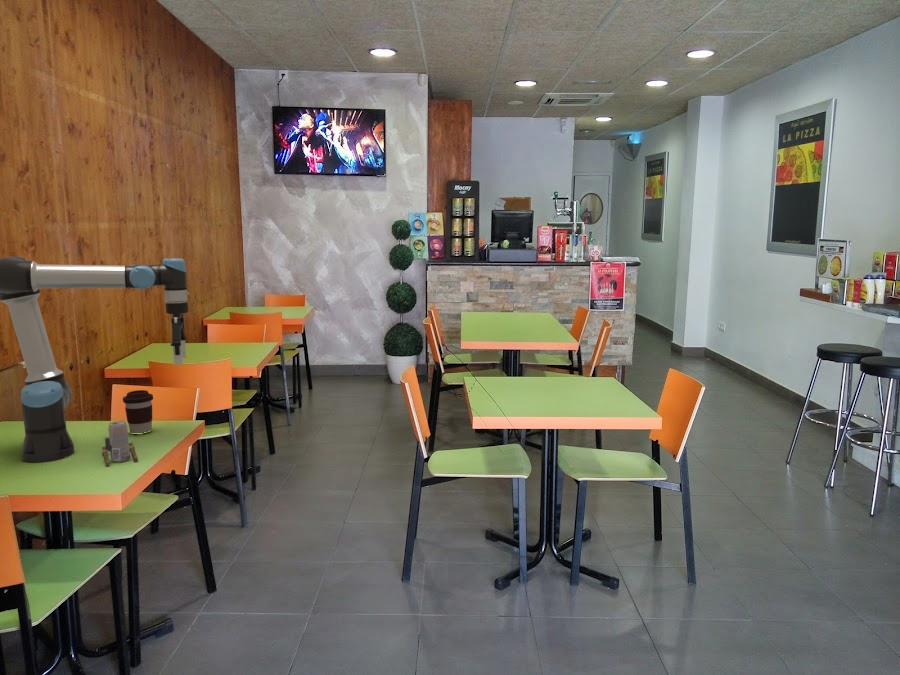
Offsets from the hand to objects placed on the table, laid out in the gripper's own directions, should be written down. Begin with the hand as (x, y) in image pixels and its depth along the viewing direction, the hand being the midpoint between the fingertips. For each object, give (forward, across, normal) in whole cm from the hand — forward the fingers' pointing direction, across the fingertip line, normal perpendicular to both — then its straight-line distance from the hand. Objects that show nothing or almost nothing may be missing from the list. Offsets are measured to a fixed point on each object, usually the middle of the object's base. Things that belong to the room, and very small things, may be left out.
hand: (180, 361), depth 251 cm
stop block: (+26, -17, +20) cm, 37 cm away
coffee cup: (+26, +2, +15) cm, 30 cm away
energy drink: (+26, -31, +16) cm, 44 cm away
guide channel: (+26, -26, +17) cm, 41 cm away
